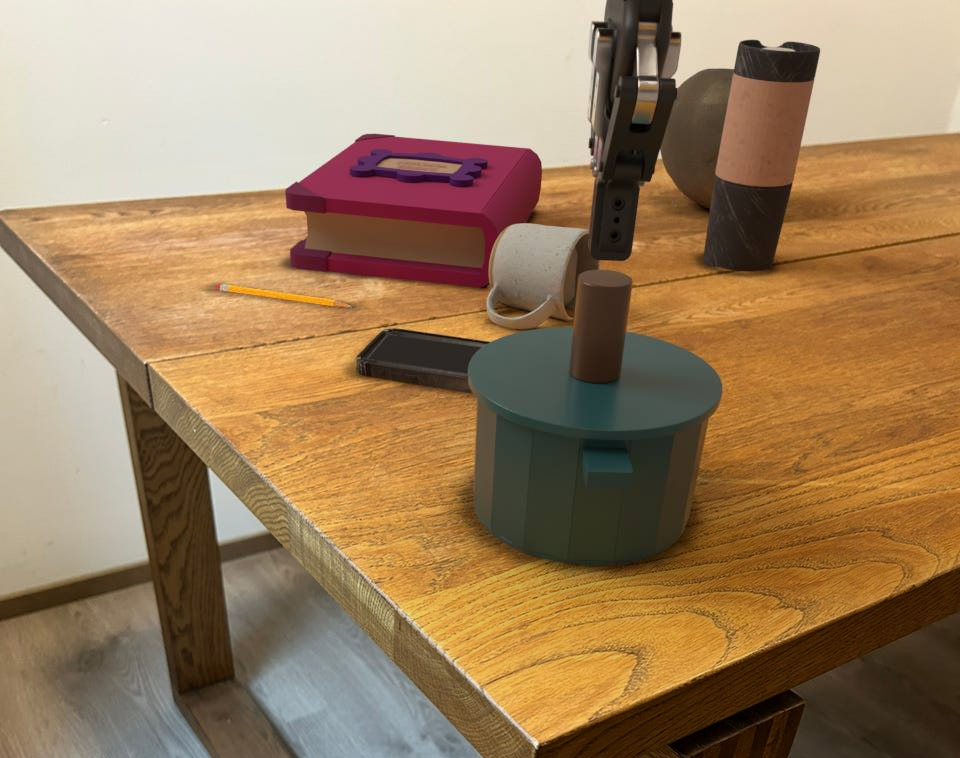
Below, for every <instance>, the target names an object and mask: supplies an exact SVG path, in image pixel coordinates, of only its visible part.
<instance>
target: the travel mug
mask: <svg viewBox="0 0 960 758" xmlns="http://www.w3.org/2000/svg"><path fill="white" fill-rule="evenodd" d="M820 55H821V47H819V46H817V45H813V44H810V43H805V42H801V41H800V42H799V41H785V42H783V43H782V44H780V45H779V46H767V45H764V44H762V42H761V41H760V40H759V39H745V40H741V41H739V43H738V46H737V51H736V57H735V60H734V61H735V62H734V67H733V69H734V73H733V78H732V84H731V89H730V95H729V100H728V106H727V111H726V117H725V122H724V128H723V133H722V139H721V144H720V150H719V155H718V161H717V166H716V172H715V174H716V175H715V178H714V185H713V192H712V199H711V206H710V209H709V214H708V219H707V220H708V221H707V229H706V234H705V243H704V251H703V259H702V261H703V264H704V265H706V266H707V267H709V268H720V269H725V270H730V271H736V272H737V271H738V272H759V271H764V270H772V268H773V263H774V260H775V257H776V252H777V250H778V249H777V248H778V244H779V241H780V237H781V233H782V229H783V224H784V220H785V217H786V212H787V208H788V204H789V200H790V196H791V192H792V188H793V182H794V180H795V175H796V169H797V165H798V160H799V157H800V150H801V147H802V141H803V137H804V131H805V126H806V122H807V117H808V114H809V113H808V112H809V108H810V103H811V98H812V94H813V88H814V84H815V78H816V75H817V71H818V70H817V69H818V65H819V59H820Z"/></svg>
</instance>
